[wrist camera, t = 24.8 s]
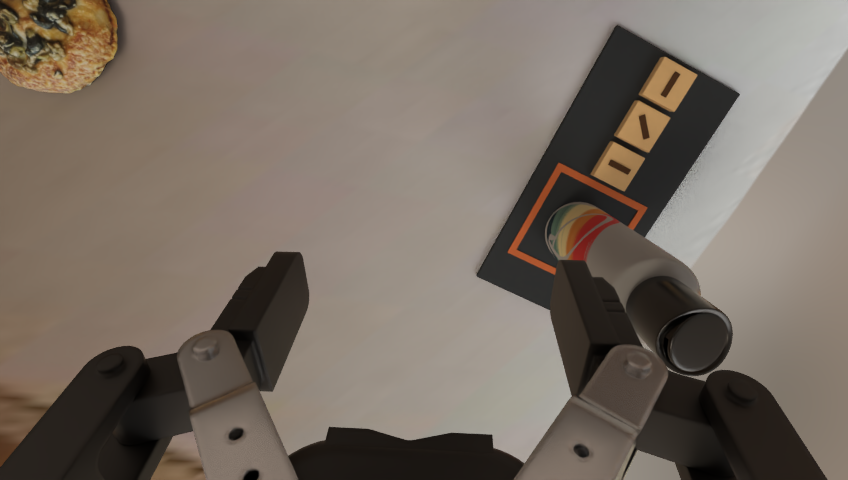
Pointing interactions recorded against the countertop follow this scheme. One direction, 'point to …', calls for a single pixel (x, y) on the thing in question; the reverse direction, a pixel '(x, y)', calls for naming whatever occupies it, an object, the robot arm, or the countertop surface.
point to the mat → (611, 155)
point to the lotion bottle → (645, 287)
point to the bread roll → (56, 42)
